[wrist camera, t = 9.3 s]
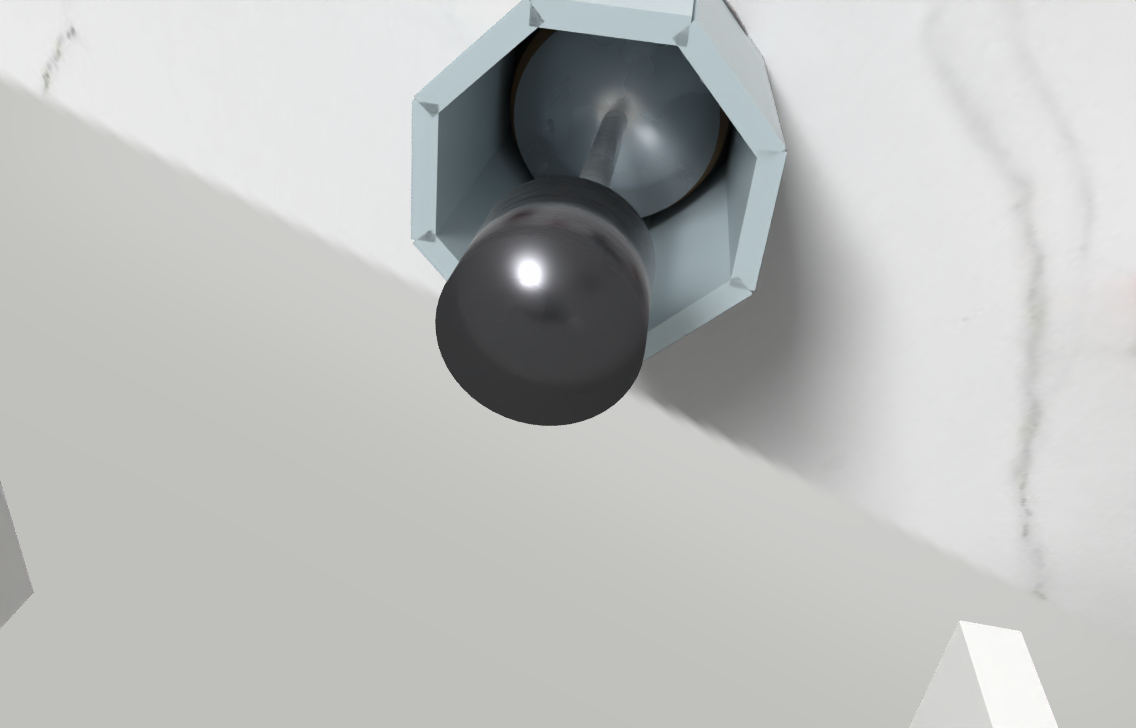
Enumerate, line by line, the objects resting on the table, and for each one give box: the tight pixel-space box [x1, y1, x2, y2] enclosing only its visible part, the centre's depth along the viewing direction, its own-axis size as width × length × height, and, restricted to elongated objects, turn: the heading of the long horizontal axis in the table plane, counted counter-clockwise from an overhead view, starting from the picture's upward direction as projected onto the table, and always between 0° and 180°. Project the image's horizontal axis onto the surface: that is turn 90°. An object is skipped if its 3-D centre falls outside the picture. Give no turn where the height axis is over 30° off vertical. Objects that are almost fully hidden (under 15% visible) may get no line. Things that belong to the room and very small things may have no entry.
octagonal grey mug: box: [411, 0, 787, 361], centre depth 33 cm, size 14×11×13 cm
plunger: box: [435, 30, 720, 426], centre depth 27 cm, size 8×8×18 cm
